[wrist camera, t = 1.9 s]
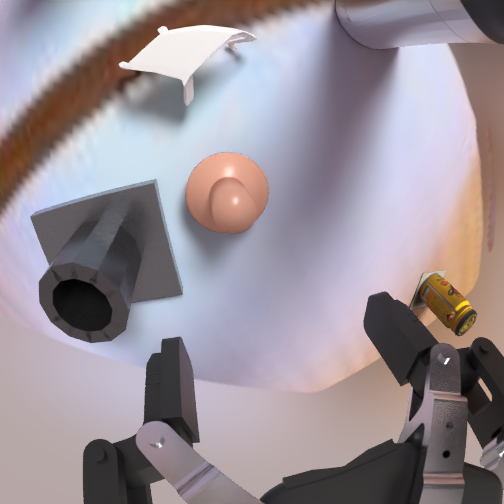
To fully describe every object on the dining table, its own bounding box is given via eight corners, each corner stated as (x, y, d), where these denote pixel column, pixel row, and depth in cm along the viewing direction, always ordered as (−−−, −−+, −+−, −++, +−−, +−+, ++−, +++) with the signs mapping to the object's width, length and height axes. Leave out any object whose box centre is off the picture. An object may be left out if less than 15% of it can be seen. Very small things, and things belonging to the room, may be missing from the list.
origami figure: (163, 123, 25) (157, 126, 21) (120, 63, 21) (107, 56, 17) (264, 63, 24) (277, 55, 20) (223, 3, 20) (228, -14, 16)
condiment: (446, 269, 45) (485, 306, 35) (431, 304, 49) (465, 342, 39) (422, 272, 43) (464, 314, 33) (407, 310, 47) (442, 352, 37)
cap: (257, 143, 28) (280, 158, 21) (263, 213, 32) (285, 248, 25) (180, 155, 27) (175, 173, 20) (193, 225, 31) (194, 264, 24)
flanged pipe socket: (156, 179, 28) (139, 216, 19) (182, 287, 35) (183, 349, 26) (35, 211, 26) (-10, 255, 17) (75, 304, 33) (53, 361, 24)
